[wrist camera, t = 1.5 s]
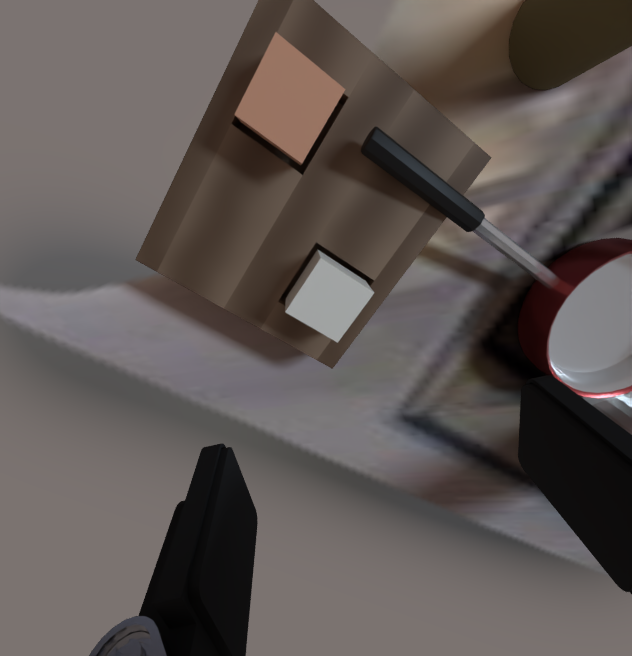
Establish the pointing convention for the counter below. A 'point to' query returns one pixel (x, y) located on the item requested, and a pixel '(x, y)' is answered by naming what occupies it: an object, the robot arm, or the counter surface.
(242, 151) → the brown wooden flat board
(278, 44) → the terracotta key
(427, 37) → the counter surface
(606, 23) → the olive brown rounded cylinder
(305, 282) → the cream key
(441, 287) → the counter surface
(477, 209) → the frying pan
